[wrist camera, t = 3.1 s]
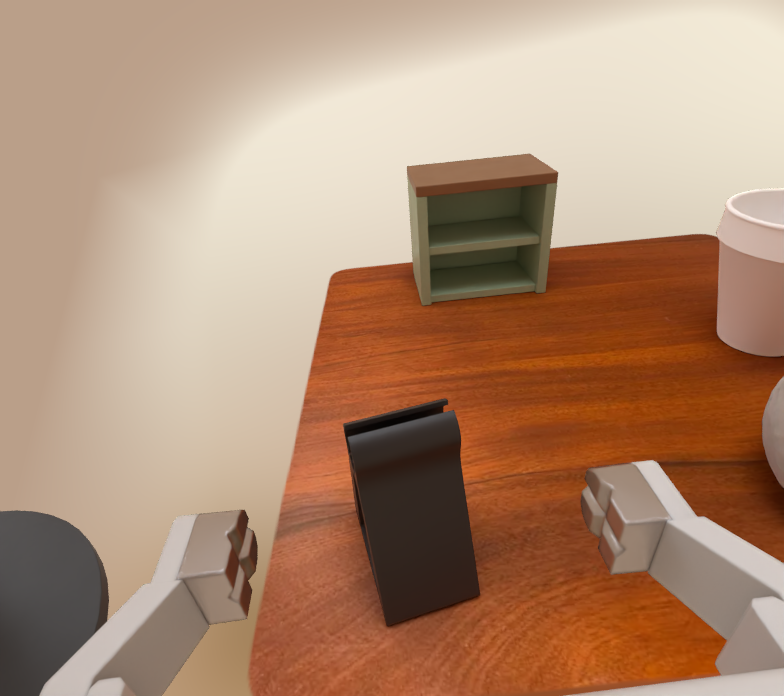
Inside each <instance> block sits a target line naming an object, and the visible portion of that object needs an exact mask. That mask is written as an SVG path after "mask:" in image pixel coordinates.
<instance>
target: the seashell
mask: <svg viewBox="0 0 784 696" xmlns="http://www.w3.org/2000/svg"><path fill="white" fill-rule="evenodd" d="M762 430H763V431H762V437H763V446H764V448H765V453H766V457H767V460H768V462H769V465H770V467H771V469H772V471H773V473H774V474H775V476H776V478H777V480H778V482H779V483H780V484H781V486H782V487H783V488H784V376H783V377H782V379H781V380H780V381H779V382H778V384H777V385H776V387H775V388H774V389H773V391H772V393H771V395H770V398H769V400H768V403H767V405H766V408H765V411H764V415H763V419H762Z"/></svg>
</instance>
